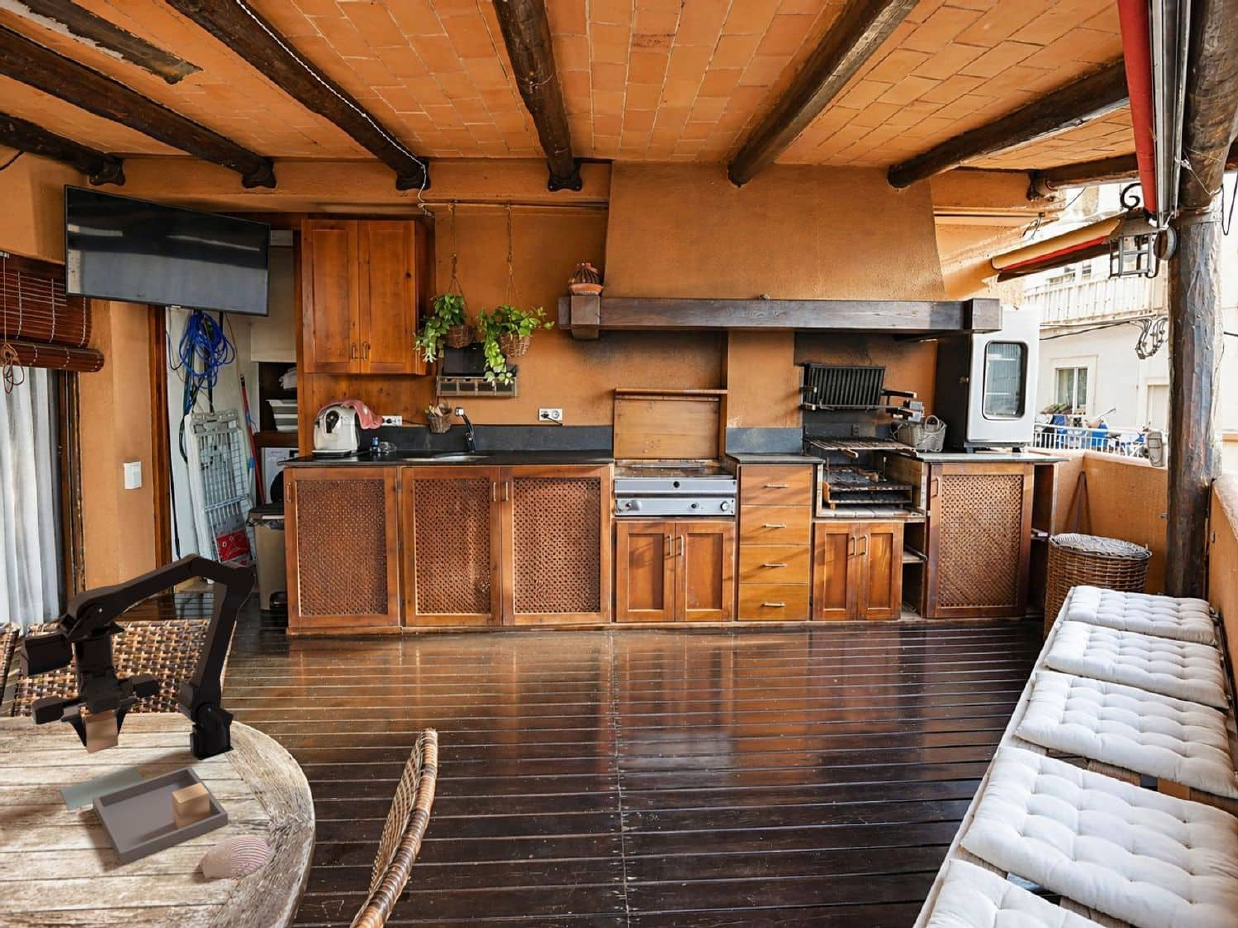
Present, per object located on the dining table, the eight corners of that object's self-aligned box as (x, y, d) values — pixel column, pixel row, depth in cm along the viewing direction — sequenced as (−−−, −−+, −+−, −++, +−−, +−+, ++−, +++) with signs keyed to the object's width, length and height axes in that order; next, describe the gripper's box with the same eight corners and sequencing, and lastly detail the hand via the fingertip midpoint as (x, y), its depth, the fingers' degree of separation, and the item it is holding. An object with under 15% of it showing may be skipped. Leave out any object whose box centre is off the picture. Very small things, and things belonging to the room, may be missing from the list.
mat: (135, 768, 145) (135, 766, 145) (147, 786, 139) (147, 784, 139) (60, 792, 137) (59, 789, 137) (69, 812, 131) (68, 810, 130)
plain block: (202, 811, 131) (200, 782, 130) (210, 822, 127) (208, 792, 127) (173, 822, 127) (171, 792, 127) (181, 833, 124) (179, 803, 124)
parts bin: (190, 777, 142) (190, 765, 142) (228, 826, 127) (227, 813, 127) (93, 810, 131) (92, 797, 131) (121, 868, 116) (120, 853, 116)
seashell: (178, 857, 115) (232, 810, 123) (188, 884, 116) (240, 836, 125) (225, 873, 111) (277, 824, 119) (234, 901, 112) (285, 851, 121)
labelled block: (112, 736, 140) (110, 708, 139) (118, 745, 137) (116, 716, 136) (84, 745, 137) (81, 715, 136) (89, 753, 134) (86, 724, 133)
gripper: (37, 688, 123) (44, 776, 125) (164, 659, 136) (170, 739, 138) (27, 669, 131) (34, 752, 132) (149, 643, 144) (154, 719, 146)
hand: (100, 741), depth 137 cm, fingers closed on labelled block, 4 cm apart
